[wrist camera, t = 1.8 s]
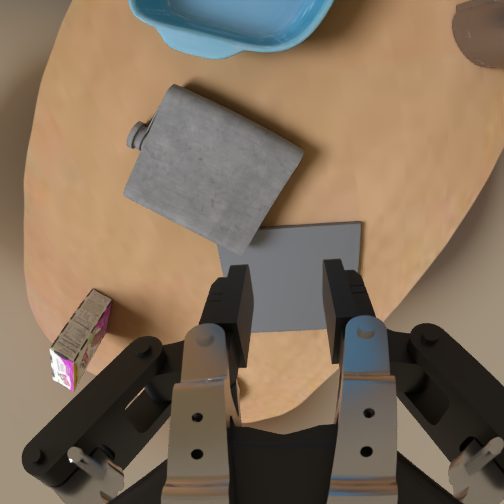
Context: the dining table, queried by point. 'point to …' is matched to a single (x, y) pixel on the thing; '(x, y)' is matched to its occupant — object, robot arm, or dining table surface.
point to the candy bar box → (80, 339)
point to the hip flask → (209, 168)
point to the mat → (293, 271)
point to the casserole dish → (232, 24)
